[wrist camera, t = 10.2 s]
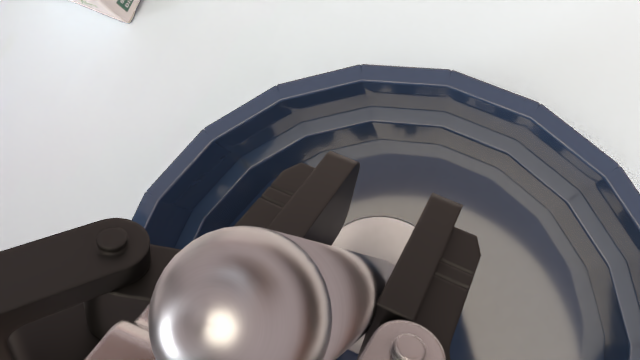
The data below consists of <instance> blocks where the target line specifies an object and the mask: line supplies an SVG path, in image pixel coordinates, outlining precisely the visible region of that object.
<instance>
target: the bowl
mask: <svg viewBox="0 0 640 360" xmlns="http://www.w3.org/2000/svg"><path fill="white" fill-rule="evenodd" d="M329 151H333V152H335V153H337V154H340V155H342V156H345V157H347V158H350V159H352V160H355V161H357V162H359V163H360V169H359V173H358V177H357V181H356V185H355V188H354V192H353V196H352V200H351V204H350V208H349V212H348V215H347V218H346V220H345V223H344V225H346V224H348V223H350V222H352V221H355V220H357V219H361V218H364V217H370V216H388V217H394V218H398V219H401V220H404V221H406V222H409V223H411V224H413V225H414V226H416V224H417V222H418V220H419V218H420V216H421V214H422V212H423V210H424V208H425V206H426V204H427V202H428V200H429V198H430V196H431V194H432V193H435V194H437V195H440V196H442V197H444V198H447V199H449V200H452V201H454V202H457V203H459V204H462V205H463V207H462V209H461V212H460V214H459V216H458V219H457V221H456V223H455V226H454V227H456V228H459V229H461V230H463V231H466V232H468V233H471V234H473V235H475V236H477V238H478V243H479V248H480V253H481V257H480V260H479V263H478V266H477V269H476V272H475V274H474V277H473V280H472V283H471V286H470V289H469V292H468V295H467V298H466V300H465V303H464V306H463V309H462V312H461V315H460V318H459V321H458V324H457V326H456V329H455V332H454V335H453V338H452V341H451V345H450V360H640V193H639V192H638V191H637V189H636V188H635V186H634V185H633V183H632V182H631V180H630V179H629V177H628V176H627V175H626V173H625V172H624V170H623V169H622V167H620V166H619V165H618V163H617V162H615V161H614V160H613V159H611V158H610V157H609V156H608V155H606V154H605V153H604V152H603V151H601V150H600V149H599V148H597V147H596V146H595V145H594V144H592V143H591V142H590V141H588V140H587V139H586V138H585V137H583V136H582V135H581V134H579V133H578V132H577V131H576V130H574V129H573V128H572V127H570V126H569V125H568V124H567V123H565V122H564V121H563V120H562V119H560V118H559V117H558V116H556V115H555V114H554V113H553V112H551V111H550V110H549V109H547V108H546V107H545V106H544V105H542V104H540V103H538V102H536V101H533V100H531V99H528V98H526V97H523V96H520V95H518V94H515V93H512V92H510V91H507V90H504V89H502V88H499V87H496V86H494V85H491V84H488V83H486V82H483V81H480V80H478V79H475V78H473V77H470V76H467V75H465V74H462V73H459V72H457V71H454V70H452V71H451V70H449V69H434V68H417V67H400V66H384V65H367V64H363V65H356V66H351V67H347V68H343V69H339V70H335V71H331V72H327V73H323V74H319V75H315V76H311V77H307V78H303V79H298V80H294V81H290V82H286V83H282V84H278V85H277V86H274V87H272V88H271V89H269V90H267V91H266V92H264V93H262V94H261V95H259V96H257V97H256V98H254V99H252V100H251V101H249V102H247V103H246V104H244V105H242V106H240V107H239V108H237V109H235V110H234V111H232V112H230V113H229V114H227V115H225V116H224V117H222V118H220V119H219V120H217V121H215V122H214V123H212V124H210V125H209V126H207V127H205V128H204V129H203V130H202V131H201V132H200V133H199V134H198V135H197V136H196V137H195V138H194V139H193V141H192V142H191V143H190V144H189V145H188V146H187V147H186V148H185V149H184V150H183V152H182V153H181V154H180V155H179V156H178V157H177V158H176V159H175V160H174V161H173V162H172V164H171V165H170V166H169V167H168V168H167V169H166V170H165V171H164V172H163V173H162V175H161V176H160V177H159V178H158V179H157V180H156V181H155V182H154V183H153V184H152V186H151V187H150V188H149V189H148V190H147V192H145V194H144V196H143V198H142V200H141V202H140V204H139V206H138V208H137V210H136V213H135V215H134V217H133V219H132V221H134V222H136V223H138V224H140V225H141V226H142V227H143V228H145V230H146V231H147V233H148V235H149V238H150V244H152V245H158V246H164V247H170V248H175V249H183V248H184V247H186V246H187V245H188V244H189V243H191V242H192V241H193V240H195V239H197V238H199V237H201V236H202V235H204V234H206V233H208V232H212V231H215V230H218V229H221V228H226V227H234V225H235V224H236V223H237V222H238V221H239V220H240V219H241V218H242V216H243V215H244V214H245V213H246V212H247V211H248V210H249V209H250V207H251V206H252V205H253V204H254V203H255V202H256V201H257V199H258V198H259V197H260V198H261V196H262V194H263V193H264V192H265V190H266V189H267V188H268V187H270V186H271V184H272V183H273V181H274V180H275V179H276V178H277V177H278V176H279V175H280V174H281V172H282V171H283V170H286V169H288V168H290V167H292V166H294V165H296V164H299V163H301V162H302V163H304V164H307V165H309V166H312V167H314V168H316V166H317V165H318V164H319V163H320V161H321V160H322V159H323V158H324V156H325V155H326V154H327V153H328V152H329ZM344 225H343V226H344ZM357 357H358V354H356V353H354V352H352V351H350V350H348V349H347V350H346V351H345V352H344V353H343V354H342V355H341V356H339V357H338V358H337V359H336V360H357Z"/></svg>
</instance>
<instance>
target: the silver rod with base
mask: <svg viewBox="0 0 640 360" xmlns="http://www.w3.org/2000/svg"><path fill="white" fill-rule="evenodd" d="M414 228H415V226H414V225H413V224H411V223H409V222H406V221H404V220H401V219H398V218H394V217H388V216H370V217H364V218H361V219H357V220H355V221H352V222H350V223H348V224H346V225H344V226H343V227H342V229H341V231H340V233H339V235H338V236H337V238H336V239H335V241H334V242H333V244H332V246H330V245H327V244H323V243H319V242H315V241H312V240H308V239H304V238H300V237H297V236H293V235H289V234H285V233H281V232H278V231H274V230H270V229H266V228H263V227H256V226H236V227H226V228H221V229H218V230H215V231H212V232H208V233H206V234H204V235H202V236H201V237H199V238H197V239H195V240H193V241H192V242H191V243H189V244H188V245H187V246H186V247H184V248H183V249H182V250H181V251H180V252H178V253H177V254H176V255H175V256H174V257H173V259H172V260H171V261H170V262H169V263H168V265H167V266H166V267H165V268H164V270H163V272H162V274H161V276H160V277H159V279H158V281H157V283H156V285H155V289H154V292H153V295H152V298H151V301H150V308H149V315H148V325H149V338H150V342H151V347H152V351H153V354H154V356H155V359H156V360H336V359H337V358H338V357H339V356H341V355H342V354H343V353H344V352H345V351H346V350H347V349H348V350H350V351H352V352H354V353H356V354H359V351H360V349H361V346H362V343H363V340H364V337H365V334H366V332H367V331H368V329H369V328H370V326H371V324H372V322H373V319H374V316H375V311H376V303H377V301H378V299H379V297H380V295H381V293H382V291H383V289H384V287H385V285H386V283H387V281H388V279H389V277H390V275H391V273H392V271H393V269H394V267H395V265H396V263H397V261H398V259H399V257H400V255H401V253H402V251H403V249H404V247H405V245H406V244H407V242H408V240H409V238H410V236H411V234H412V232H413V230H414Z"/></svg>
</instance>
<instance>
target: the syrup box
mask: <svg viewBox="0 0 640 360" xmlns="http://www.w3.org/2000/svg"><path fill="white" fill-rule="evenodd" d="M69 1H72V2H75V3H77V4H80V5H82V6H85V7H87V8H90V9H92V10H95V11H97V12H100V13H102V14H104V15H107V16H110V17H112V18H115V19H117V20H120V21H122V22H125V23H130V22H131V21H132V19H133V17H134V15H135V10H136V8H137V6H138V4H139V2H140V0H69Z"/></svg>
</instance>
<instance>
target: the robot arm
mask: <svg viewBox="0 0 640 360" xmlns="http://www.w3.org/2000/svg"><path fill="white" fill-rule="evenodd" d="M359 169H360V163H359V162H357V161H355V160H352V159H350V158H347V157H345V156H342V155H340V154H337V153H335V152H333V151H329V152H328V153H327V154H326V155H325V156H324V158H323V159H322V160H321V161H320V163H319V164H318V165H317V166H316V168H314V167H312V166H309V165H307V164H304V163H302V162H301V163H299V164H296V165H294V166H292V167H290V168H288V169H286V170H283V171H282V172H281V174H280V175H279V176H278V177H277V178H276V179H275V180H274V181H273V183H272V184H271V186H270V187H268V188H267V189H266V190H265V192H264V193H263V194H262V196H261V198H260V197H259V198H258V199H257V201H256V202H255V203H254V204H253V205H252V206H251V207H250V209H249V210H248V211H247V212H246V213H245V214H244V215H243V216H242V218H241V219H240V220H239V221H238V222H237V223H236V224H235V225H234V227H236V226H256V227H263V228H266V229H270V230H274V231H278V232H281V233H285V234H289V235H293V236H297V237H300V238H304V239H308V240H312V241H315V242H319V243H323V244H327V245H330V246H332V244H333V242H334V241H335V239H336V238H337V236H338V235H339V233H340V231H341V229H342V227H343V225H344V223H345V220H346V218H347V215H348V212H349V208H350V204H351V200H352V196H353V192H354V188H355V185H356V181H357V177H358V173H359ZM462 207H463V205H462V204H459V203H457V202H454V201H452V200H449V199H447V198H444V197H442V196H440V195H437V194H435V193H432V194H431V196H430V198H429V200H428V202H427V204H426V206H425V208H424V210H423V212H422V214H421V216H420V218H419V220H418V222H417V224H416V226H415V228H414V230H413V232H412V234H411V236H410V238H409V240H408V242H407V244H406V245H405V247H404V249H403V251H402V253H401V255H400V257H399V259H398V261H397V263H396V265H395V267H394V269H393V271H392V273H391V275H390V277H389V279H388V281H387V283H386V285H385V287H384V289H383V291H382V293H381V295H380V297H379V299H378V301H377V303H376V311H375V316H374V319H373V322H372V324H371V326H370V328H369V329H368V331H367V332H366V334H365V337H364V340H363V343H362V346H361V349H360V351H359V354H358V357H357V360H450V345H451V341H452V338H453V335H454V332H455V329H456V326H457V324H458V321H459V318H460V315H461V312H462V309H463V306H464V303H465V300H466V298H467V295H468V292H469V289H470V286H471V283H472V280H473V277H474V274H475V272H476V269H477V266H478V263H479V260H480V257H481V253H480V248H479V243H478V238H477V236H475V235H473V234H471V233H468V232H466V231H463V230H461V229H459V228H456V227H454V226H455V223H456V221H457V219H458V216H459V214H460V212H461V209H462ZM181 250H182V249H175V248H170V247H164V246H158V245H152V244H150V238H149V235H148V233H147V231H146V230H145V228H143V227H142V226H141V225H140V224H138V223H136V222H134V221H131V220H128V219H122V218H110V219H104V220H100V221H97V222H94V223H90V224H87V225H84V226H81V227H78V228H74V229H71V230H68V231H65V232H62V233H58V234H55V235H52V236H49V237H45V238H42V239H39V240H36V241H33V242H29V243H26V244H23V245H20V246H17V247H13V248H10V249H7V250H4V251H1V252H0V360H156V359H155V356H154V354H153V351H152V347H151V342H150V338H149V325H148V315H149V308H150V301H151V298H152V295H153V292H154V289H155V285H156V283H157V281H158V279H159V277H160V276H161V274H162V272H163V270H164V268H165V267H166V266H167V265H168V263H169V262H170V261H171V260H172V259H173V257H174V256H175V255H176V254H177V253H178V252H180V251H181Z"/></svg>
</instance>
